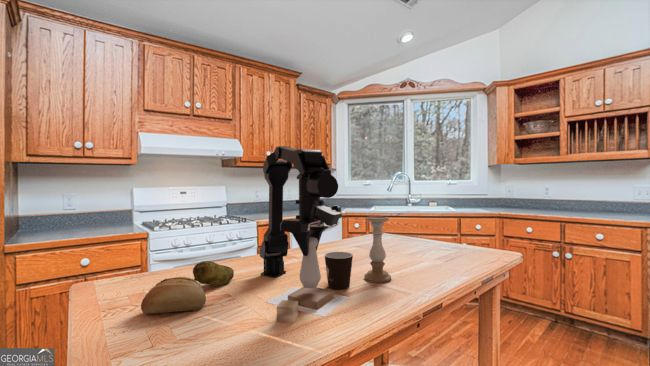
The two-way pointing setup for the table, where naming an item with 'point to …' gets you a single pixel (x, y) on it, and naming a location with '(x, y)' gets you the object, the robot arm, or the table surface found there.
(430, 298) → the table surface
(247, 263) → the table surface
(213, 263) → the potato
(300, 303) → the walnut base block
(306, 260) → the salt shaker
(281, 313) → the maple block
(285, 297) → the white flat rectangular panel
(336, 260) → the coffee mug
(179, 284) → the bread roll
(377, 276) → the candle holder
